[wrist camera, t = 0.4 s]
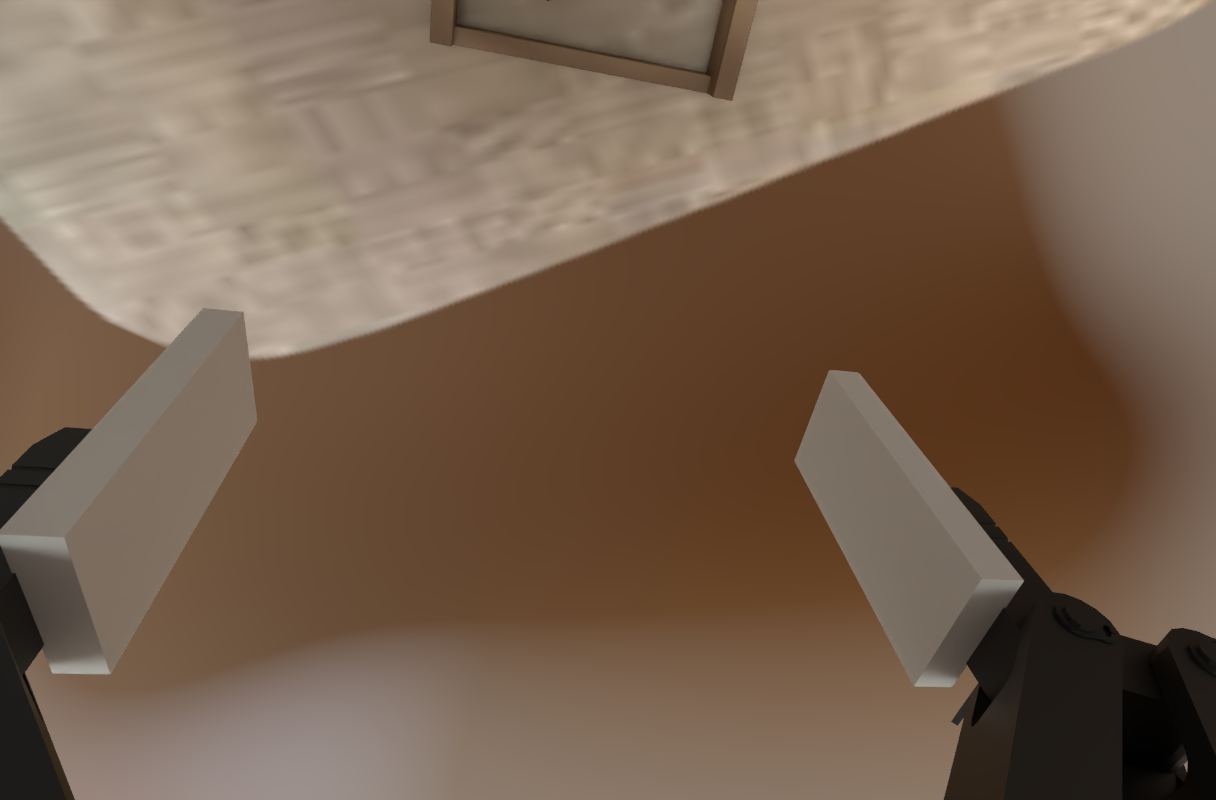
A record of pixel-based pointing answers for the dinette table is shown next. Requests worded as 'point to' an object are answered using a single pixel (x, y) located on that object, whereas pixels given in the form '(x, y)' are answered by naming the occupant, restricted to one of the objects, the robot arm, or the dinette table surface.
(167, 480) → the robot arm
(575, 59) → the wooden frame with post
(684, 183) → the dinette table surface
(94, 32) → the dinette table surface
